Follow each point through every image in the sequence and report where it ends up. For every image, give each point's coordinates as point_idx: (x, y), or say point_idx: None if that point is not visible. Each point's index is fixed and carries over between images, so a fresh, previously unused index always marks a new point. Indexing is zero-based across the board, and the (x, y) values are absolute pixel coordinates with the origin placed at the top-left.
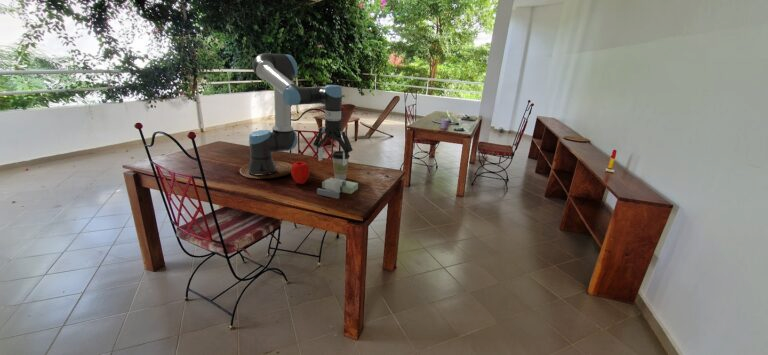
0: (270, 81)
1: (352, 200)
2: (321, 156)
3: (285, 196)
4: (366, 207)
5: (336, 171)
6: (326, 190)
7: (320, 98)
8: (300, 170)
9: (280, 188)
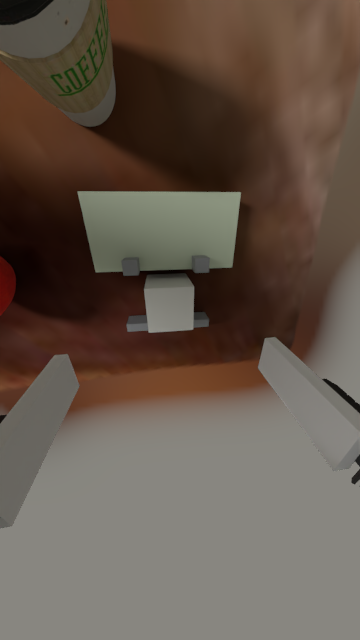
0: None
1: (245, 305)
2: (59, 390)
3: None
4: (292, 322)
5: (61, 103)
6: None
7: None
8: None
9: (2, 346)
